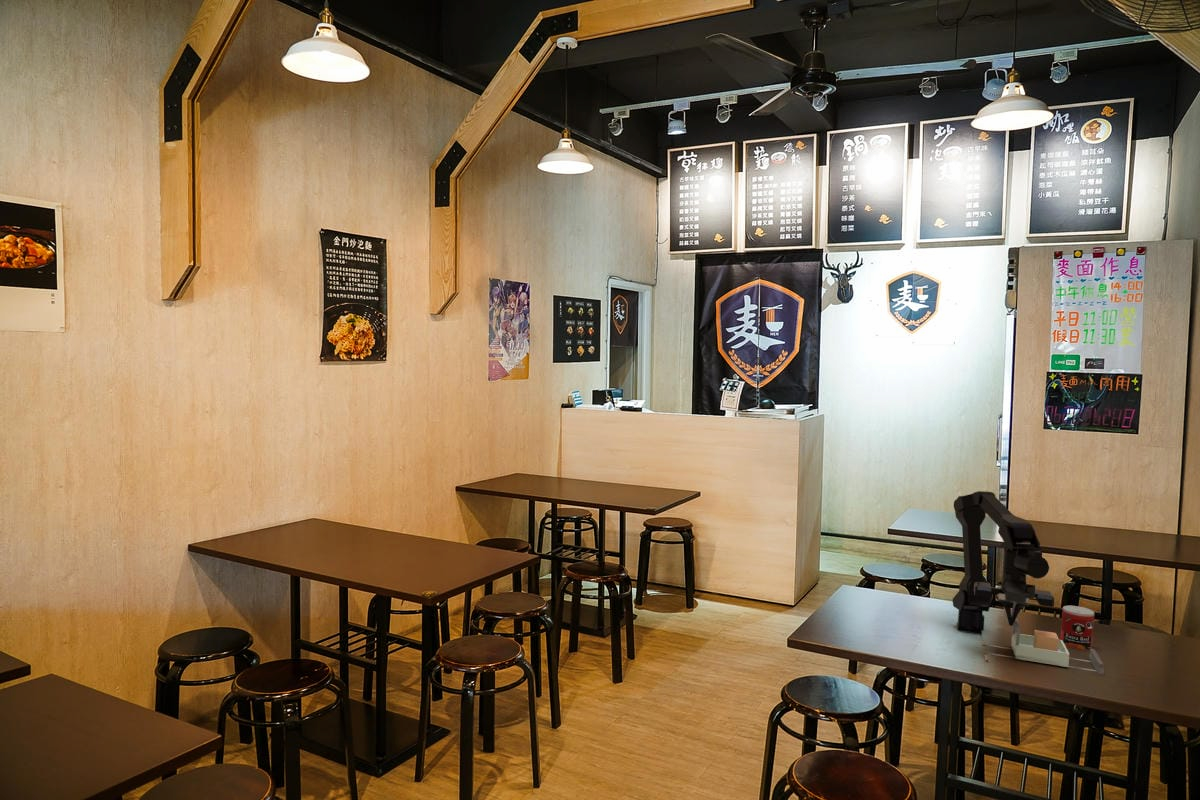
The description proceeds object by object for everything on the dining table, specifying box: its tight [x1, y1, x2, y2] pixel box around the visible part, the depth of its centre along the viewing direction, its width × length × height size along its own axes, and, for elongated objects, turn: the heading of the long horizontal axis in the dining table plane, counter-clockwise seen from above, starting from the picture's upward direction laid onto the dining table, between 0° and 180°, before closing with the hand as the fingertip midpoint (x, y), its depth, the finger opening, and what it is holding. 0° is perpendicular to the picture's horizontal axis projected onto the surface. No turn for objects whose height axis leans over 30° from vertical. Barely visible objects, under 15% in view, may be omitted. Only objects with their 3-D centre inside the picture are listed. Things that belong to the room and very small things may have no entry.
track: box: [980, 639, 1105, 676], centre depth 206 cm, size 27×16×4 cm, turn 67°
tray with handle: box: [1010, 616, 1070, 668], centre depth 206 cm, size 12×11×9 cm
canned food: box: [1059, 605, 1095, 651], centre depth 218 cm, size 8×8×11 cm
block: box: [1033, 629, 1060, 651], centre depth 206 cm, size 5×5×5 cm
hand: (1010, 625), depth 209 cm, fingers closed
